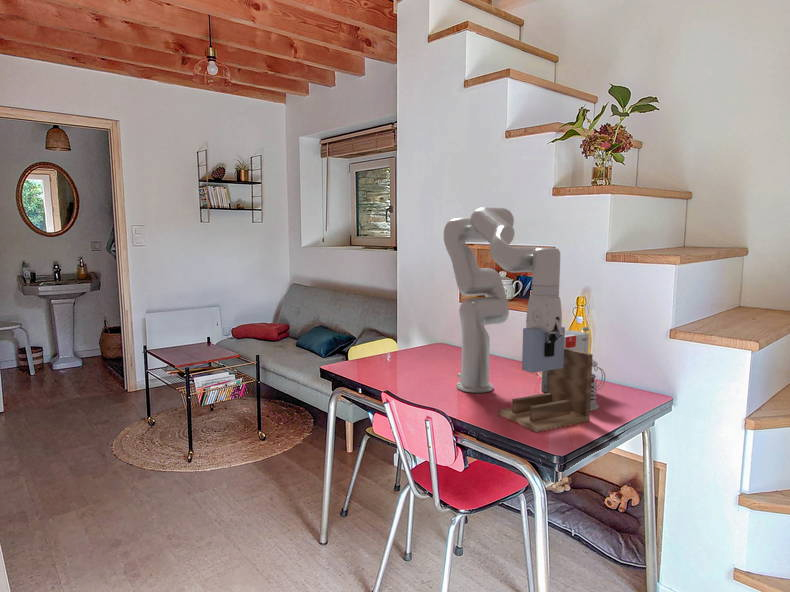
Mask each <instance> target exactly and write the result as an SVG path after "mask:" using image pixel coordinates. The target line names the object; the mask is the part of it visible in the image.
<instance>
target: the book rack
mask: <svg viewBox="0 0 790 592" xmlns="http://www.w3.org/2000/svg"><path fill="white" fill-rule="evenodd" d="M592 359H593V354H592V353H589V352H588V353H585V352H581V351H577V350H573V349H569V348H565V347H564V366H563V368H560V369H554V370H547V392H545V393H540V394H535V395H528V396H524V397H523V396H522V397H517V398H512V400H511V403H512V404H511V407H508V408H507V407H506V408H502V409H498V415H499V416H500V415H502V416H501V417H503V416H504V417H503V418H505V417H506V418H505V419H507V418H509V419H511V420H513V421H515V422H517V423H519V424H521V425H520V426H522V425H523V426H522V427H524V426H525V427H524V428H526V427H527V428H526V429H528V428H529V429H528V430H530V429H531V430H530V431H532V430H533V431H532V432H534V431H535V433H540V432H539V431H541V432H543V431H542V430H545V431H547V430H546V429H550V430H552V429H551V428H554V429H556V428H555V427H559V428H561V427H560V426H564V427H566V426H565V425H568V426H571V425H570V424H573V425H576V423H577V424H582V423H586V422H589V421H590V419H591V418H590V417H591V410H590V400H591V378H592V374H593V373H592V372H593V367H592ZM509 419H508V420H509ZM511 420H510V421H511ZM513 421H512V422H513ZM515 422H514V423H515ZM581 422H582V423H581ZM517 423H516V424H517ZM519 424H518V425H519Z"/></svg>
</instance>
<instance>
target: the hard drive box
mask: <svg viewBox="0 0 790 592" xmlns="http://www.w3.org/2000/svg"><path fill="white" fill-rule="evenodd" d="M589 344H590V333H588V332H586V343H585V331H584V332H583V331H577V330H565V338H564V347H565V348H569V349H573V350H577V351H581V352H584V351H585V353H589V346H590V345H589ZM540 388H541V389H540V390H541V391H542V392H545V393H547V371H541V387H540ZM541 391H540V392H541Z"/></svg>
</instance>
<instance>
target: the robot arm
mask: <svg viewBox="0 0 790 592" xmlns="http://www.w3.org/2000/svg"><path fill="white" fill-rule="evenodd" d="M514 219H515V218H514V215H513V213H512V212H511V211H510V210H509V209H507V208H505V207H489V206H488V207H486V206H485V207H478V208H477V209H475V210H474V211H473V212H472V213H471V215H470V217H457V218H453V219H450V220H449V221H447V222H446V224H445V226H444V229H443V243H444V246H445V249H446V252H447V253H448V256H449V257H450V260H451V264H452V268H453V273H454V277H455V281H456V285H457V288H458V291H459V293H460V294H461V295H463V296H467V297H469V296H473V297H472V298H467V299H465V300H464V301H462V302H461V304H460V306H459V310H458V311H459V313H458V314H459V318H460V326H461V372H459V373H457V375H456V376H457V377H458V378H460V381H458V382H457V383H456V388H457V389H458V390H460V391H462V392H464V393H465V392H466V393H475V394H476V393H478V394H480V393H482V394H483V393H488V392H491V391H493V389H494V385H493V383H491V382H490V349H491V348H490V347H491V345H490V340H491V339H490V335H489V333H488V331H487V330H486V328H485V326H489V325H498V324H503V323H505V322H506V321H507V320H508V317H509V315H510V310H509V303H508V299H507V295H506V290H505V287H504V284H503V280H502V278H501V275H500V274H499V272H498V271H497V270H495V269H494V268H490V267H485V268H484V267H479V265H478V262H477V258H476V257H477V256H476V254H475V253H474V252H473V250H472V249H471V248H470V247H469V246H468V245H467V244H466V243H486V242H488V243H489V253H490V256H491V258H492V260H493V261H494V263H496V264H497V265H498V266H499V267H500V268H502V270H504V271H505V272H508V273H512V274H513V273H531V274H532V276H531V294H530V295H529V298H528V302H527V309H526V318H525V319H526V321H525V325H526V326H525V328H536V329H541V330H542V332H544V333H546V342H547V343H545V354H544V356H545V357H551V356H554V348H555V343H556V342H557V339H558V338H559V337H561V336H562V335H563V334H564V333H563V330H562V328H561V327H563V325H562V324H563V323H562V322H563V320H562V319H563V316H562V315H563V314H562V301H561V297H560V284H561V283H560V280H561V279H560V277H561V276H560V275H561V251H560V249H559V248H555V247H541V246H512V245H511V244H512V242H513V240H514V238H515V228H514V223H515V220H514ZM474 296H485V297H474ZM550 334H552V336H551V337H550Z"/></svg>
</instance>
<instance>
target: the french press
mask: <svg viewBox="0 0 790 592" xmlns="http://www.w3.org/2000/svg"><path fill="white" fill-rule="evenodd" d="M583 331H584V333H585V343H586V333H587V331H590V329H589V327H587V326H584V327H582V332H583ZM584 352H585V351H584ZM598 365H599V363H598V362H597V361H596V360H594V359H593V358H592V368H593V370H594V372H598V369H599V371H600V372H601V381H600V382H599V385H597V380H596V379H595V378H596V375H595V374H594V373H592V378H591V400H590V411H594V410H598V409H599V408H600V406H599V405H598V404H597V391H599V390H600V389H601V388H603V387H604V385H605V382H606V373H605V371H604V369H603V368H601V367H599V366H598ZM603 376H604V378H603ZM602 382H603V383H602ZM598 387H599V388H598Z"/></svg>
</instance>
